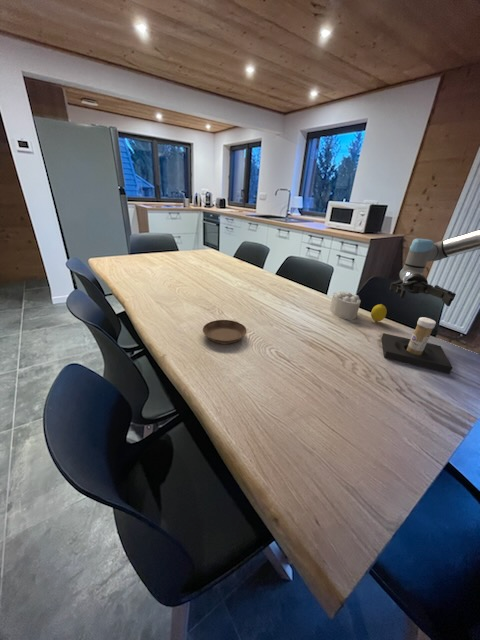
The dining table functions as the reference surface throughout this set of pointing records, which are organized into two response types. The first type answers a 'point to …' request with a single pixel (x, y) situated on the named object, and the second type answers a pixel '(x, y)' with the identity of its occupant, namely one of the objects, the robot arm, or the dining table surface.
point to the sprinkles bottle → (421, 335)
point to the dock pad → (428, 359)
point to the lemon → (378, 312)
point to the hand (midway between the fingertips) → (426, 298)
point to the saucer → (224, 331)
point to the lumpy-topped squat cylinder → (345, 305)
